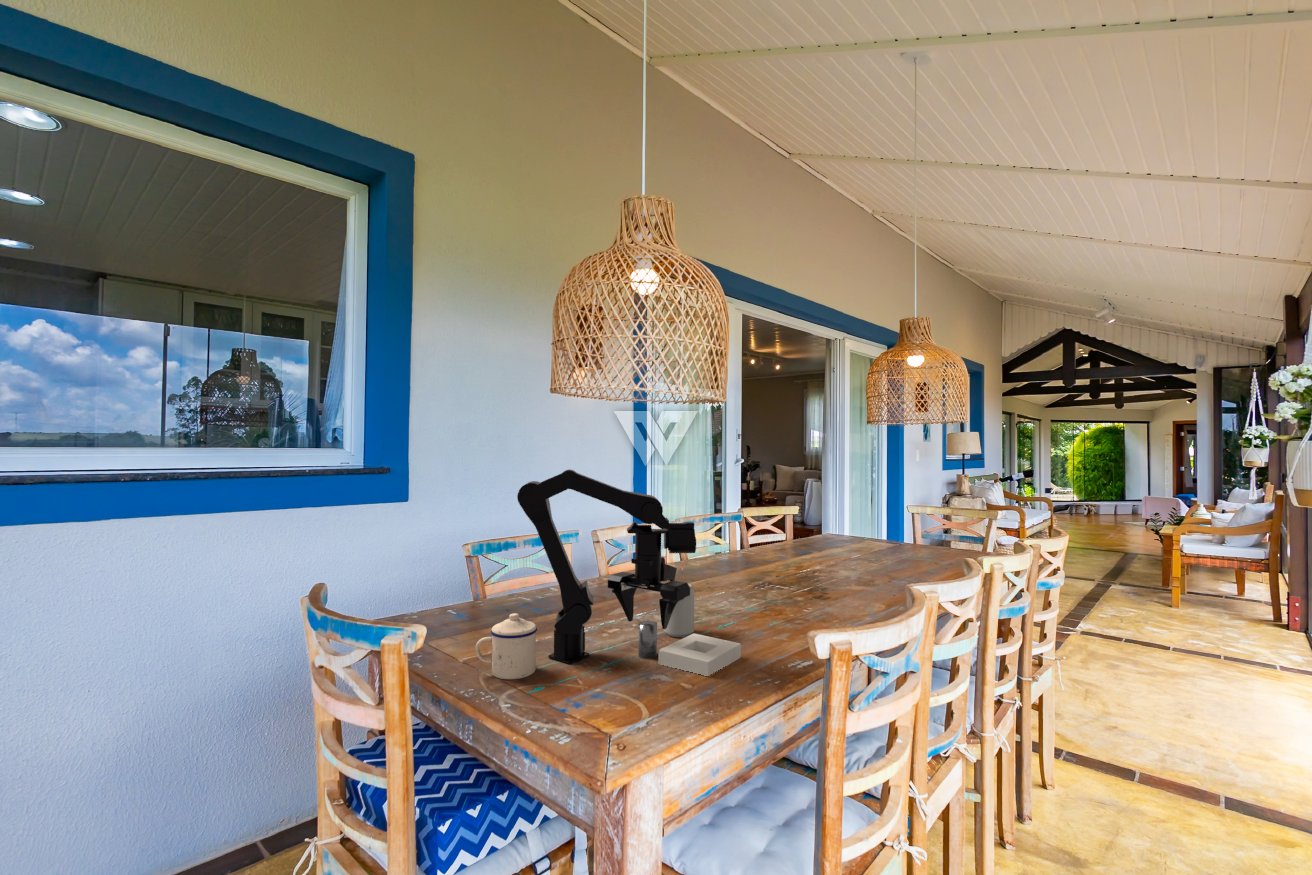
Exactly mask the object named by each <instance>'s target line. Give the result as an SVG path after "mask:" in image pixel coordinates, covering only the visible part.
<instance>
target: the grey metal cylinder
mask: <svg viewBox="0 0 1312 875" xmlns="http://www.w3.org/2000/svg"><path fill="white" fill-rule="evenodd" d="M657 656H658V622H656V621H653V620H642V621H639V622H638V657H639V658H640V659H647V660H648V659H649V660H650V659H654V658H656V657H657Z"/></svg>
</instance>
